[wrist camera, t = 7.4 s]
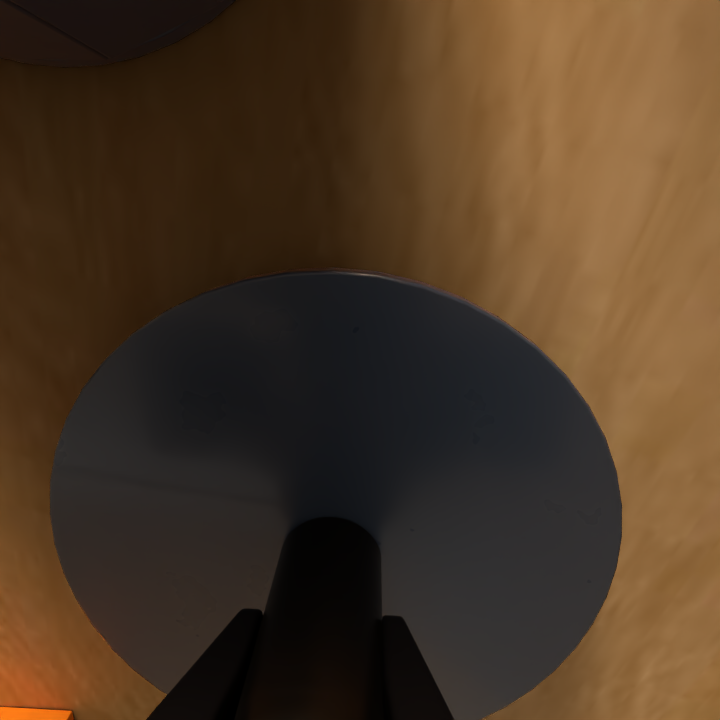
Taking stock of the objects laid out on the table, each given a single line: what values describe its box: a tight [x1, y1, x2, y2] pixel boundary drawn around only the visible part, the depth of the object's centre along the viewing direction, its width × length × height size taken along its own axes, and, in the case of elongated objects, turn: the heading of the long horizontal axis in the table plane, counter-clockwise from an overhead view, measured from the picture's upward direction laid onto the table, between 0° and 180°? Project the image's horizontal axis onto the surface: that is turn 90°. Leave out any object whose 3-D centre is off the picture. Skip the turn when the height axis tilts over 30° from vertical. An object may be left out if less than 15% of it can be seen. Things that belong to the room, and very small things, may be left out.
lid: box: [50, 267, 622, 720], centre depth 9 cm, size 14×14×6 cm
